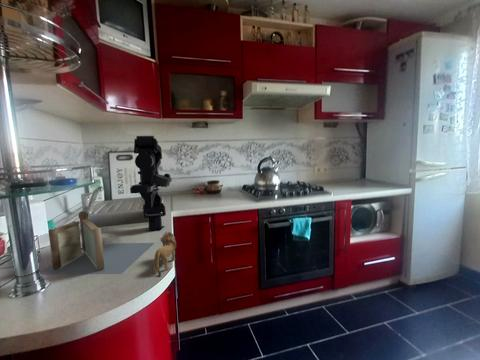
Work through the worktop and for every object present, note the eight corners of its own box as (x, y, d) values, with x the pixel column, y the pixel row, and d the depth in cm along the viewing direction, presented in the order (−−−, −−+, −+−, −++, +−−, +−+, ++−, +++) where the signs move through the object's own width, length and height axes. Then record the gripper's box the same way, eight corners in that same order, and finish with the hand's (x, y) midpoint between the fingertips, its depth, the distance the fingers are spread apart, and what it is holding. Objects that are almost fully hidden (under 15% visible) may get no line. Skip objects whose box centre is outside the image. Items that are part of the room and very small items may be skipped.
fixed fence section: (85, 249, 90) (81, 210, 88) (93, 248, 89) (89, 210, 88) (49, 269, 74) (44, 223, 72) (59, 269, 73) (54, 223, 72)
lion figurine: (162, 256, 82) (160, 230, 81) (178, 255, 82) (177, 229, 81) (150, 279, 67) (148, 247, 66) (170, 277, 68) (168, 246, 67)
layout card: (89, 244, 95) (89, 243, 95) (155, 243, 94) (154, 242, 94) (34, 275, 71) (34, 273, 71) (121, 274, 70) (121, 273, 70)
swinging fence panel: (90, 249, 88) (87, 216, 86) (105, 268, 73) (101, 228, 71) (84, 251, 86) (80, 217, 85) (97, 270, 71) (93, 230, 70)
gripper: (158, 169, 86) (161, 213, 88) (175, 166, 105) (177, 202, 106) (127, 170, 87) (131, 213, 88) (149, 167, 105) (152, 203, 107)
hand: (150, 207), depth 97 cm, fingers closed
